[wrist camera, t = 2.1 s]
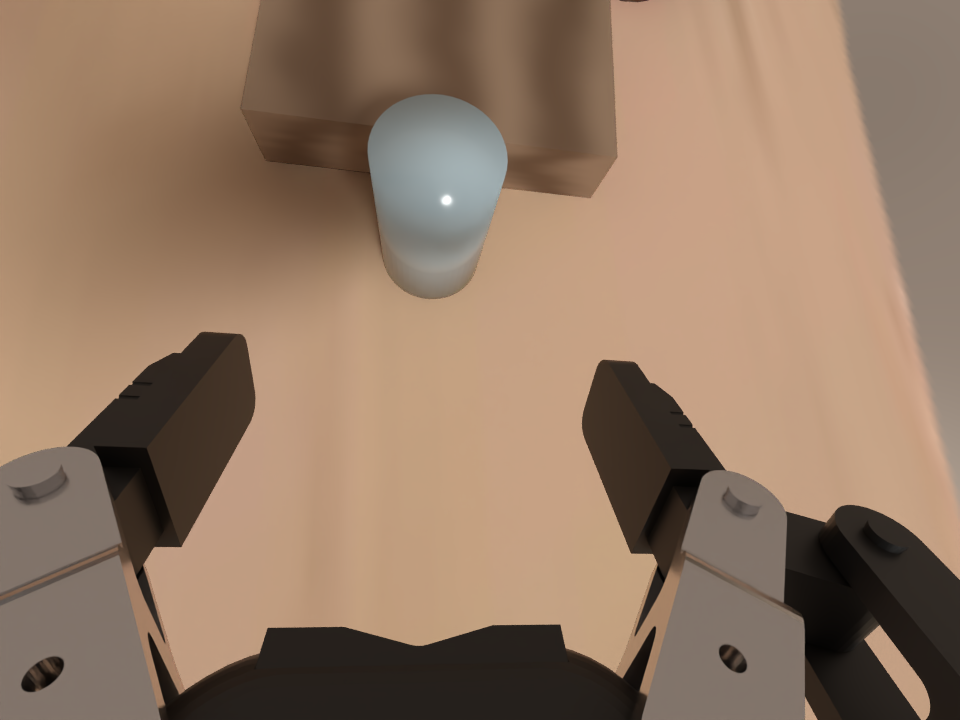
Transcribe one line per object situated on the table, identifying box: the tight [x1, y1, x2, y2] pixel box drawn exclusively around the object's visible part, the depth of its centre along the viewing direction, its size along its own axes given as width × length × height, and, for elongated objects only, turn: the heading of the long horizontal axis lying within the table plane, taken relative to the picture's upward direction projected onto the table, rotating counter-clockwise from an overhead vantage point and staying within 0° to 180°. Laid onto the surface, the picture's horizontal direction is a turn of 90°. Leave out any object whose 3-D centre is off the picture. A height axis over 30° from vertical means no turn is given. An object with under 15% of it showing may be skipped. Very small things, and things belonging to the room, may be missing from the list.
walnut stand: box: [241, 0, 617, 198], centre depth 28 cm, size 20×14×4 cm
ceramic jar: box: [368, 94, 508, 299], centre depth 22 cm, size 6×6×9 cm
